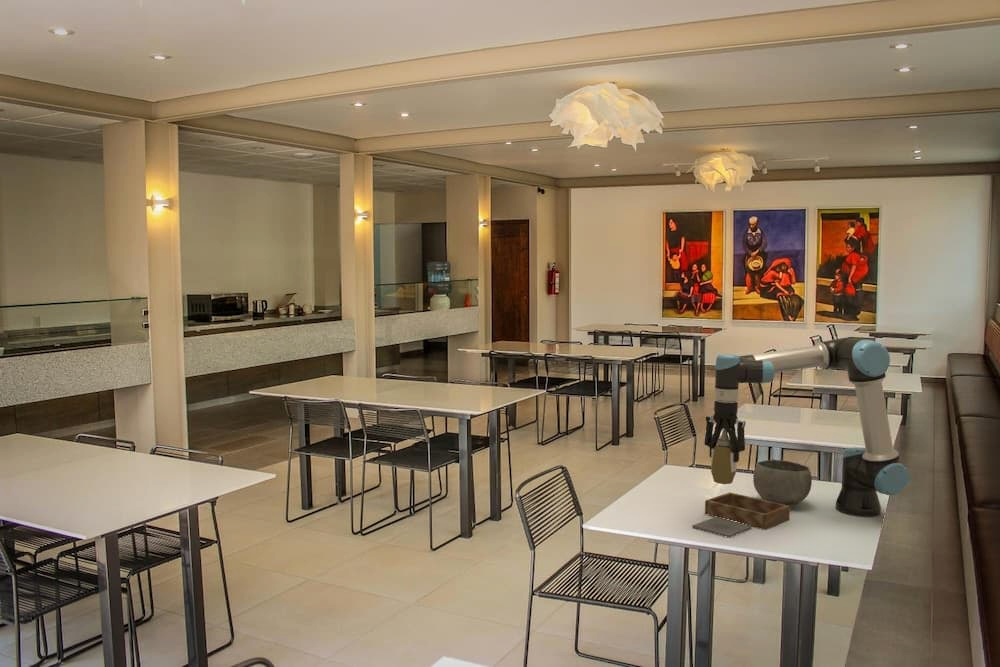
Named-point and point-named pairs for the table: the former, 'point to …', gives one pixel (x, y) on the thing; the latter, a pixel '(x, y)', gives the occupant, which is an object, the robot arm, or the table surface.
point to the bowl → (782, 481)
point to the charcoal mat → (721, 527)
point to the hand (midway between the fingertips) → (723, 469)
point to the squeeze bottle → (722, 460)
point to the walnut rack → (747, 510)
